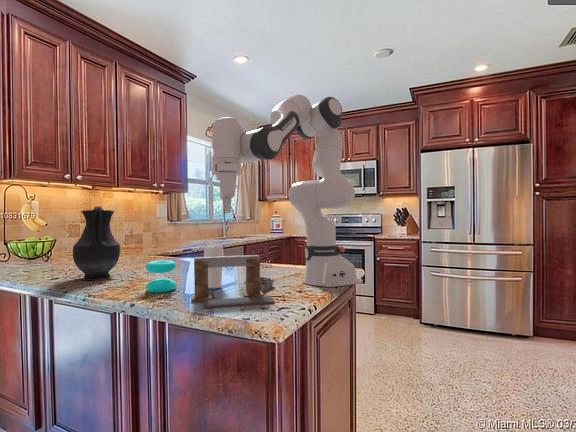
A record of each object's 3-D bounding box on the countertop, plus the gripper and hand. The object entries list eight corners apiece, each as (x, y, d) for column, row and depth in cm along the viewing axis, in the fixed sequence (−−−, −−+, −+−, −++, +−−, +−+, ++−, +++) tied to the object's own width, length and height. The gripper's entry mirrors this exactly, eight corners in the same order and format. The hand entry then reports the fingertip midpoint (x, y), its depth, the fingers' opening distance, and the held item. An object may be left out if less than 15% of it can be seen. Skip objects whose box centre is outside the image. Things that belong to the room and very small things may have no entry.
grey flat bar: (270, 297, 105) (270, 295, 105) (274, 303, 98) (274, 301, 98) (204, 302, 100) (204, 300, 100) (204, 308, 94) (204, 306, 94)
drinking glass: (219, 290, 116) (218, 247, 116) (201, 289, 117) (200, 246, 117) (226, 285, 123) (226, 245, 123) (209, 285, 124) (208, 244, 124)
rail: (258, 263, 109) (258, 254, 109) (259, 265, 106) (259, 255, 106) (194, 266, 104) (194, 257, 104) (194, 268, 102) (194, 258, 102)
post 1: (211, 296, 107) (211, 257, 107) (211, 301, 101) (211, 260, 101) (192, 297, 106) (191, 258, 106) (191, 302, 100) (190, 261, 100)
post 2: (260, 293, 111) (260, 255, 111) (263, 297, 105) (263, 258, 105) (242, 294, 110) (242, 256, 109) (244, 298, 104) (244, 259, 104)
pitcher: (118, 272, 153) (117, 207, 152) (123, 280, 135) (122, 206, 135) (73, 276, 144) (72, 207, 144) (72, 285, 126) (70, 205, 126)
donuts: (140, 264, 112) (153, 259, 122) (140, 293, 112) (153, 287, 122) (169, 263, 112) (180, 259, 122) (170, 293, 112) (180, 286, 122)
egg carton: (260, 293, 112) (260, 281, 112) (242, 291, 115) (241, 279, 115) (276, 287, 121) (276, 275, 121) (259, 285, 125) (258, 274, 125)
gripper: (215, 172, 114) (215, 213, 115) (216, 164, 95) (217, 212, 95) (234, 173, 116) (234, 213, 116) (239, 164, 96) (239, 212, 96)
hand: (226, 212), depth 105 cm, fingers open, 8 cm apart
